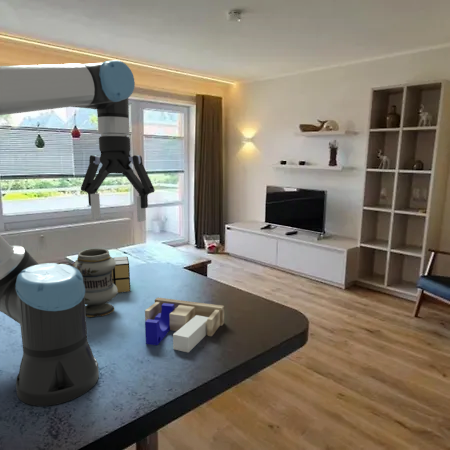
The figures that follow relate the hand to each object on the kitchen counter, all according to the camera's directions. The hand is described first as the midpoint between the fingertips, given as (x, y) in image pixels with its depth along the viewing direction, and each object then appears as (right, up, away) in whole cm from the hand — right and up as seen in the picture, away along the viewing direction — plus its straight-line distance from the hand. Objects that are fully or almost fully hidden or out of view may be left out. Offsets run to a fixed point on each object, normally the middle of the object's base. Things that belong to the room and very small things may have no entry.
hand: (118, 219), depth 98 cm
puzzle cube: (-10, -24, +32) cm, 41 cm away
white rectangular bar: (+20, -30, -4) cm, 36 cm away
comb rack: (+17, -28, +4) cm, 33 cm away
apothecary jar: (-10, -27, +13) cm, 32 cm away
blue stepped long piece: (+11, -30, -1) cm, 32 cm away
